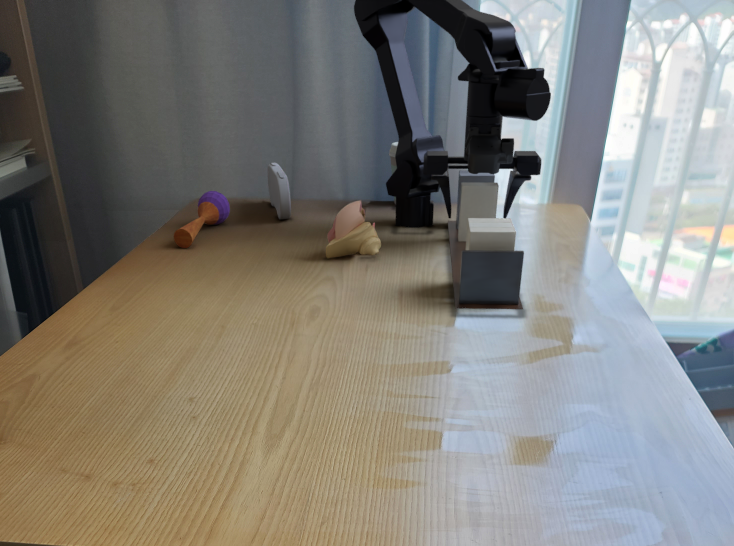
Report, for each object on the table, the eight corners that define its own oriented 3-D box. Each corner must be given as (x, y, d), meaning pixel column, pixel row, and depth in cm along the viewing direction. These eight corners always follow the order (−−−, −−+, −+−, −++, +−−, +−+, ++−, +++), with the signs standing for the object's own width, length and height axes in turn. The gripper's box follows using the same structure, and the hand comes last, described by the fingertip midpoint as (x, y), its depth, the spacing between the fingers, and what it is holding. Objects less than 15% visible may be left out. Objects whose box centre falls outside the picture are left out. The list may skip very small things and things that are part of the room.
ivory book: (458, 241, 127) (461, 185, 122) (457, 237, 129) (461, 182, 124) (493, 241, 127) (498, 185, 122) (492, 238, 129) (497, 182, 124)
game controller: (293, 223, 144) (290, 176, 139) (281, 223, 143) (278, 177, 139) (279, 201, 160) (277, 159, 155) (269, 201, 159) (266, 159, 155)
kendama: (161, 224, 128) (199, 189, 143) (173, 258, 131) (209, 221, 147) (192, 218, 126) (228, 184, 142) (204, 252, 130) (237, 216, 145)
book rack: (455, 315, 101) (458, 255, 96) (447, 226, 140) (449, 180, 136) (522, 316, 100) (529, 255, 95) (495, 226, 140) (499, 180, 135)
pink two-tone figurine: (395, 256, 126) (389, 225, 117) (346, 290, 126) (337, 262, 117) (365, 217, 128) (356, 184, 119) (317, 251, 128) (305, 220, 119)
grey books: (456, 229, 134) (460, 175, 129) (456, 222, 138) (459, 170, 133) (490, 229, 134) (494, 175, 129) (488, 222, 138) (492, 170, 133)
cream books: (465, 298, 103) (470, 231, 98) (463, 282, 109) (467, 217, 104) (509, 299, 103) (516, 231, 98) (504, 282, 109) (511, 218, 104)
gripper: (424, 122, 112) (421, 229, 120) (551, 121, 110) (538, 230, 119) (425, 112, 121) (421, 213, 130) (542, 112, 120) (530, 214, 128)
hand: (477, 218), depth 126 cm, fingers open, 9 cm apart
